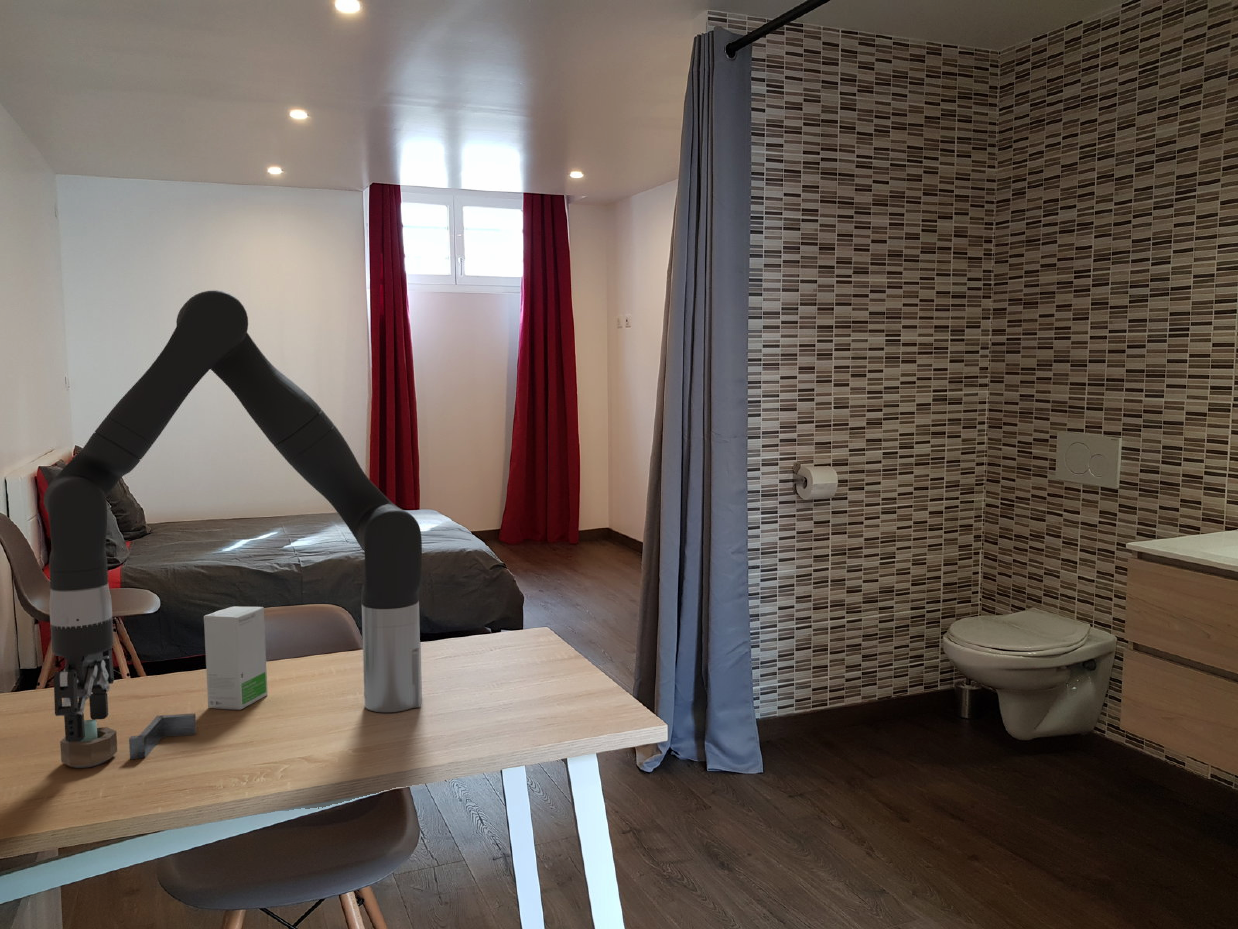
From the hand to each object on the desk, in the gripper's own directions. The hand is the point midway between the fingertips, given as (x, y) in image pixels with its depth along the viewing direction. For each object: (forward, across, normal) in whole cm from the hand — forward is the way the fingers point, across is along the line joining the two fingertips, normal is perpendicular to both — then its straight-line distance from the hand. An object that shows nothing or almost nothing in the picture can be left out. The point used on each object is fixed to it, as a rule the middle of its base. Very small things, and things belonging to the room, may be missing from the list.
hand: (87, 729), depth 129 cm
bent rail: (+5, +4, -9) cm, 11 cm away
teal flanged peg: (+5, 0, 0) cm, 5 cm away
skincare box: (+5, +22, -15) cm, 27 cm away
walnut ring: (+4, 0, 0) cm, 4 cm away
